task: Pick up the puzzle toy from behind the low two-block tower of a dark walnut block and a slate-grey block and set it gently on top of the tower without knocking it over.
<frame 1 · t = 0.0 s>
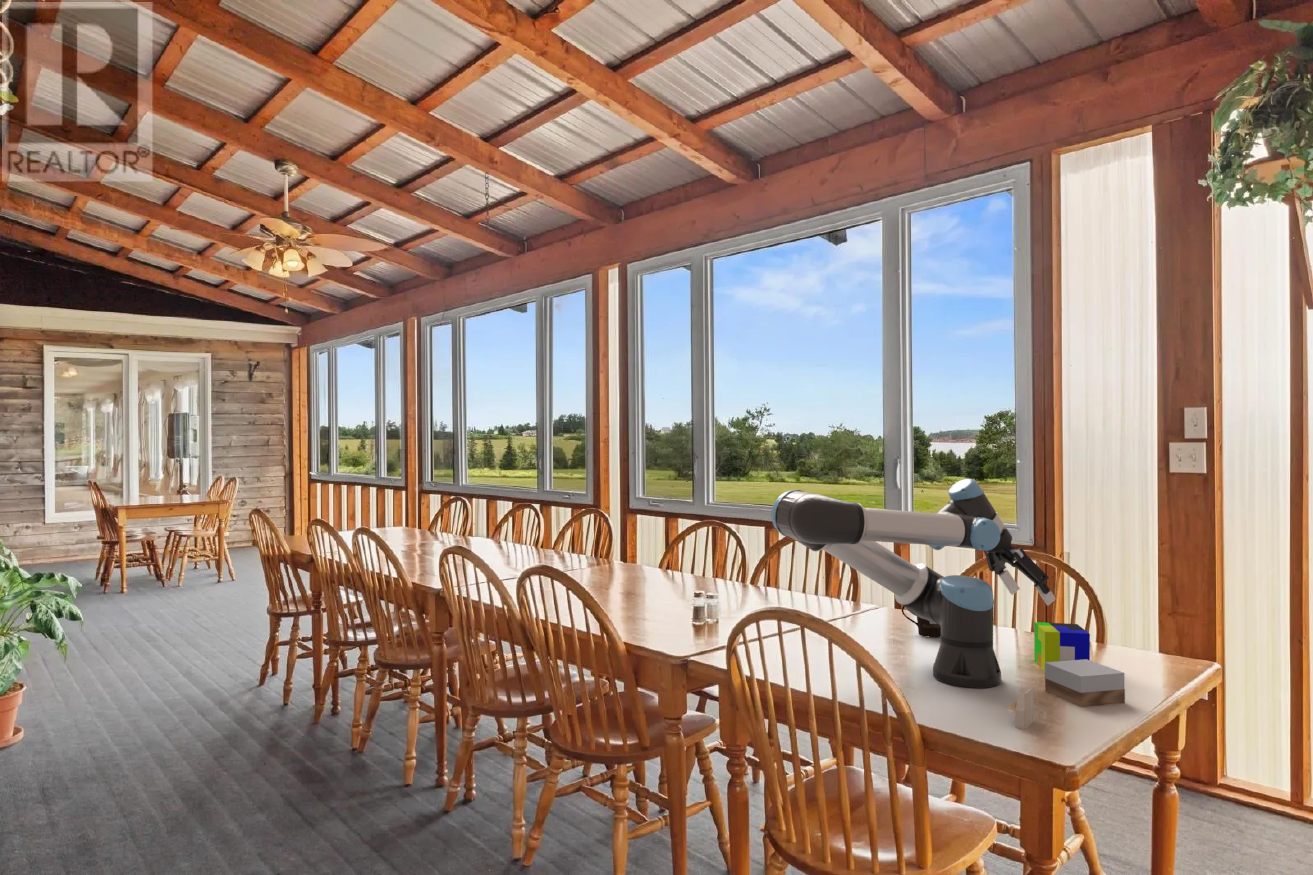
hand: (1032, 596, 212), 15 cm above the table, tool tilted 35°, fingers open, 13 cm apart
walnut block: (1084, 699, 179), on the table, touching slate-grey block
architectural model: (1024, 727, 163), on the table
coffee mug: (925, 634, 235), on the table
slate-grey block: (1083, 683, 179), point 3 cm above the table, touching walnut block
puzzle toy: (1061, 668, 201), on the table
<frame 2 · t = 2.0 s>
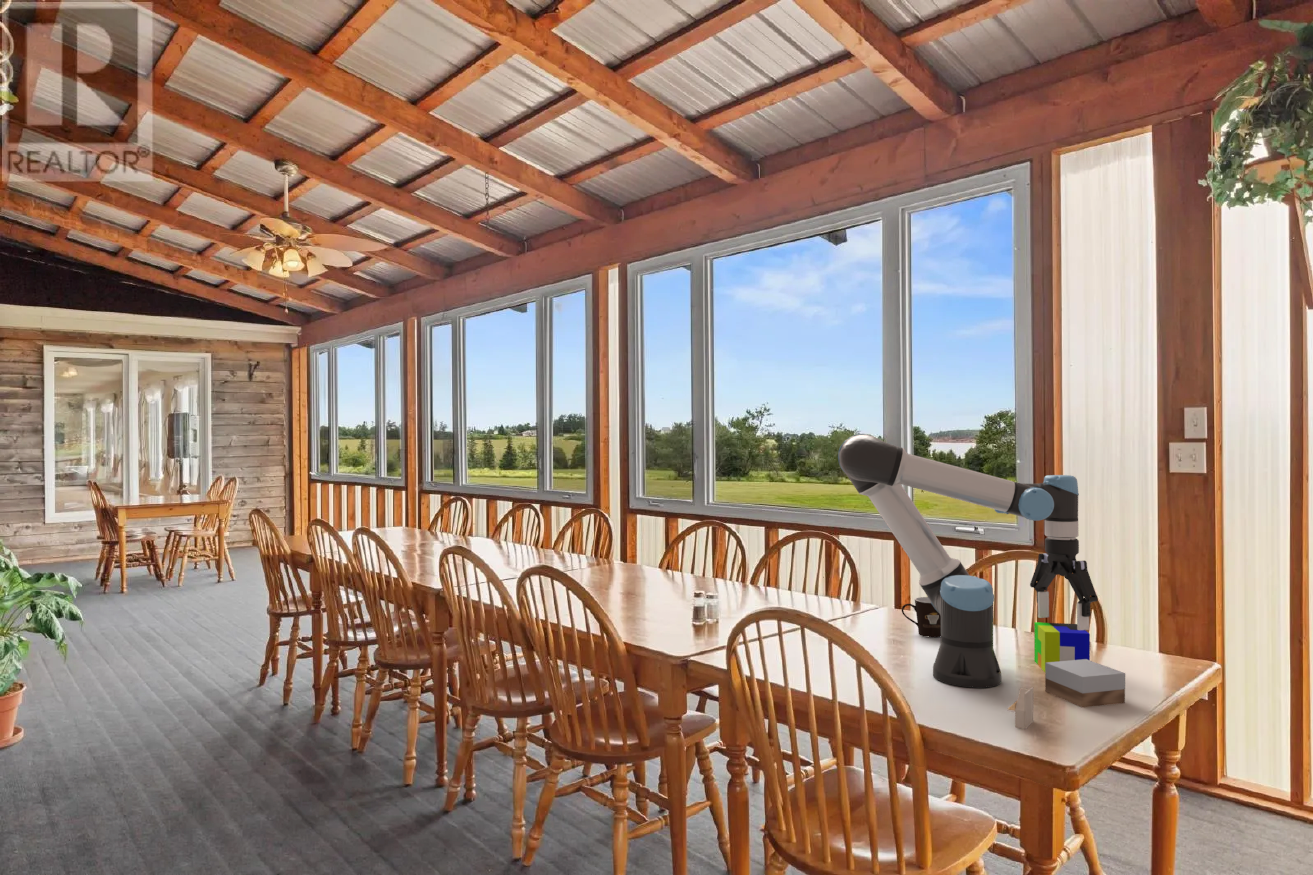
hand: (1062, 623, 201), 11 cm above the table, tool pointing down, fingers open, 13 cm apart
nothing on the table moved.
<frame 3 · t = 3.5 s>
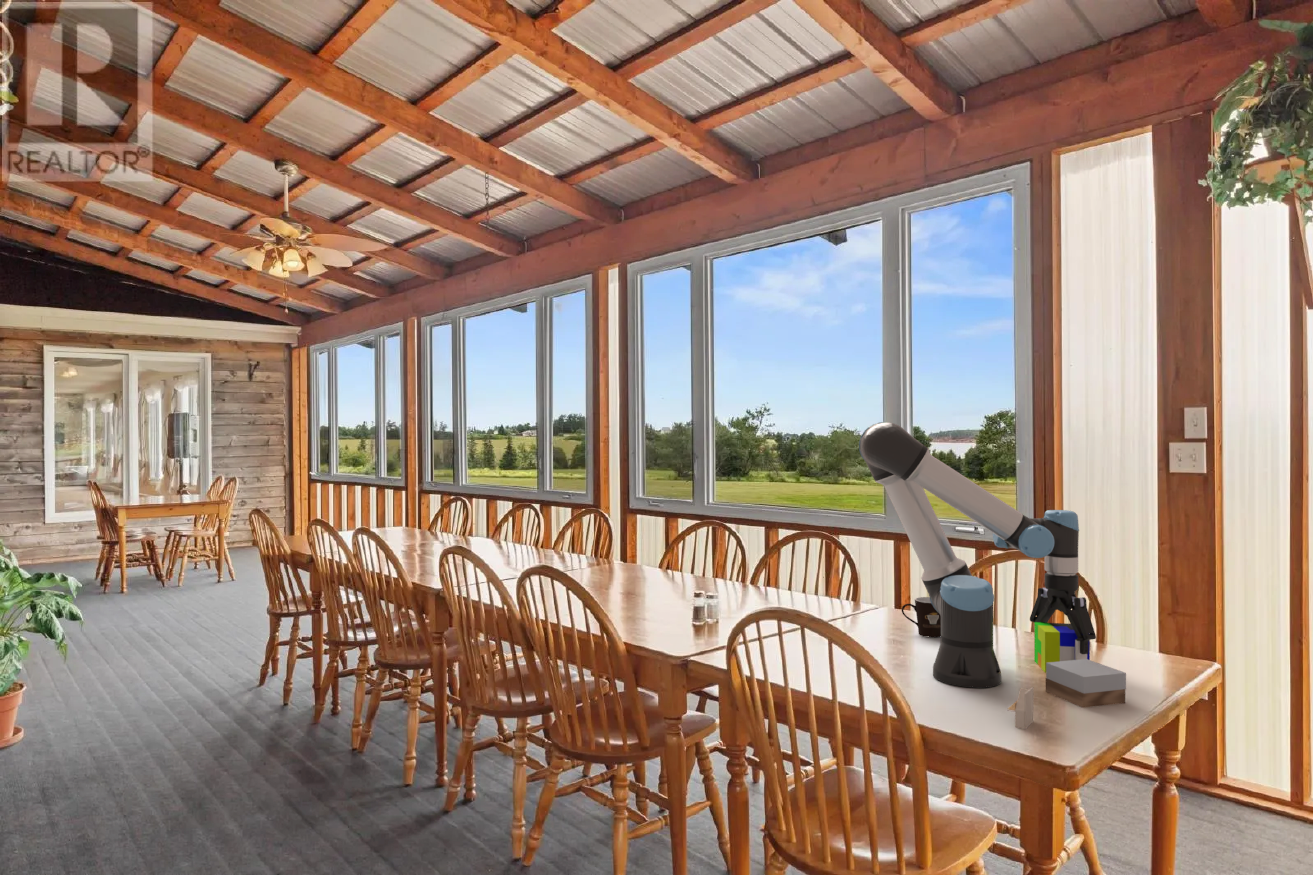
hand: (1061, 659, 201), 2 cm above the table, tool pointing down, fingers closed on puzzle toy, 12 cm apart
puzzle toy: (1061, 668, 201), on the table, touching gripper
everything else where it was.
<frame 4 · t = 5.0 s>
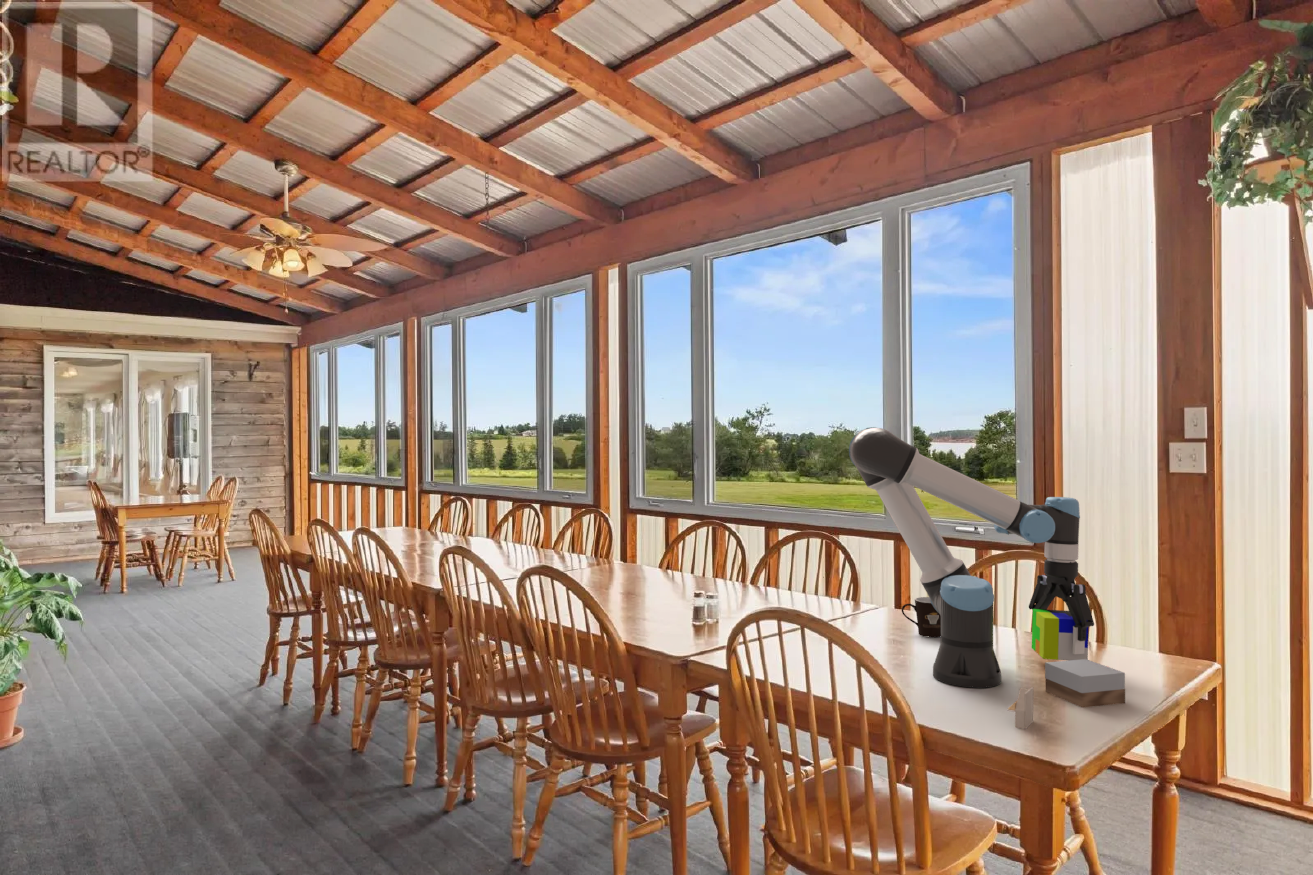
hand: (1059, 646, 201), 5 cm above the table, tool pointing down, fingers closed on puzzle toy, 12 cm apart
puzzle toy: (1058, 655, 201), point 3 cm above the table, touching gripper
everything else where it was.
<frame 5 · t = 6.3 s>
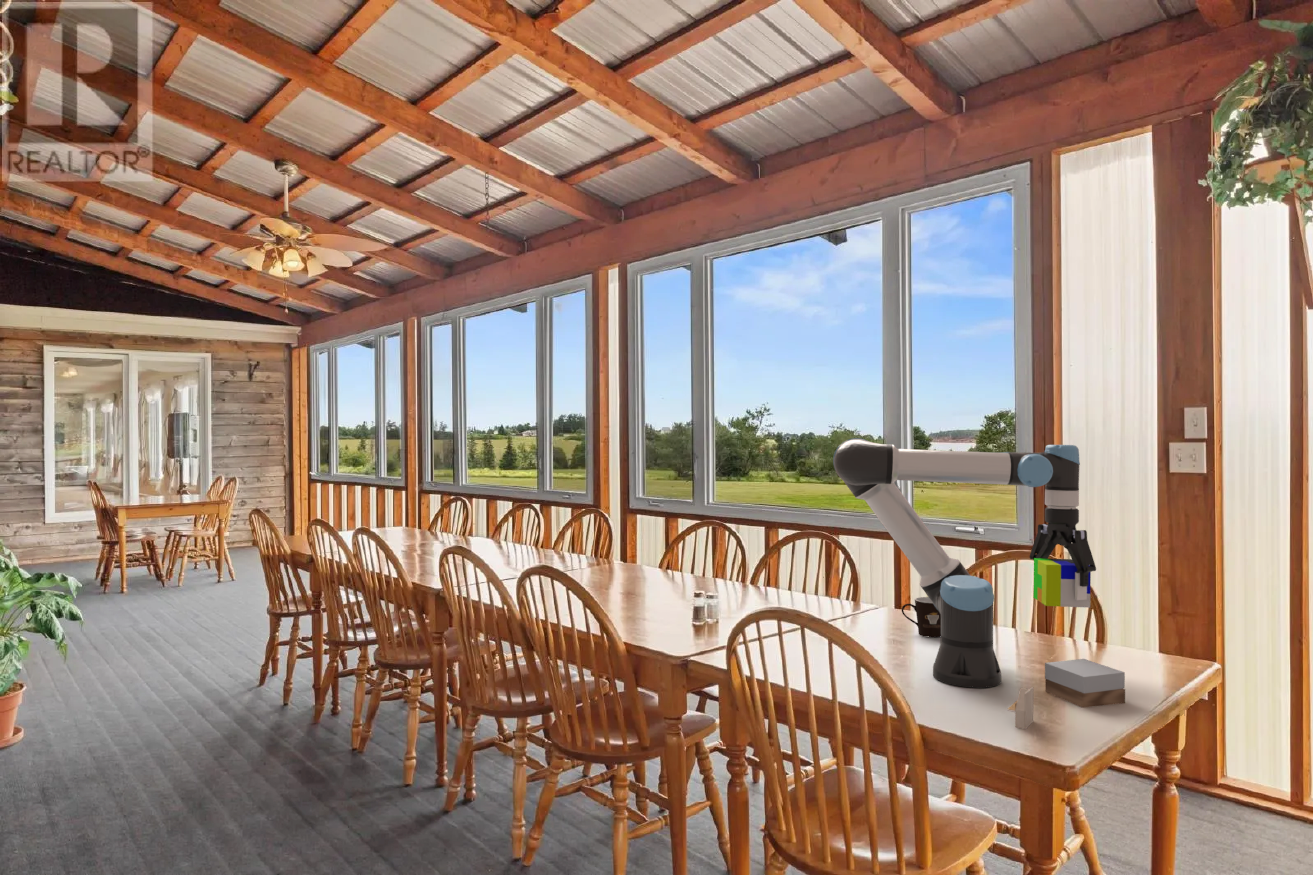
hand: (1061, 594, 200), 18 cm above the table, tool pointing down, fingers closed on puzzle toy, 12 cm apart
walnut block: (1084, 699, 179), on the table
slate-grey block: (1083, 683, 179), point 3 cm above the table
puzzle toy: (1061, 603, 201), point 16 cm above the table, touching gripper
everything else where it was.
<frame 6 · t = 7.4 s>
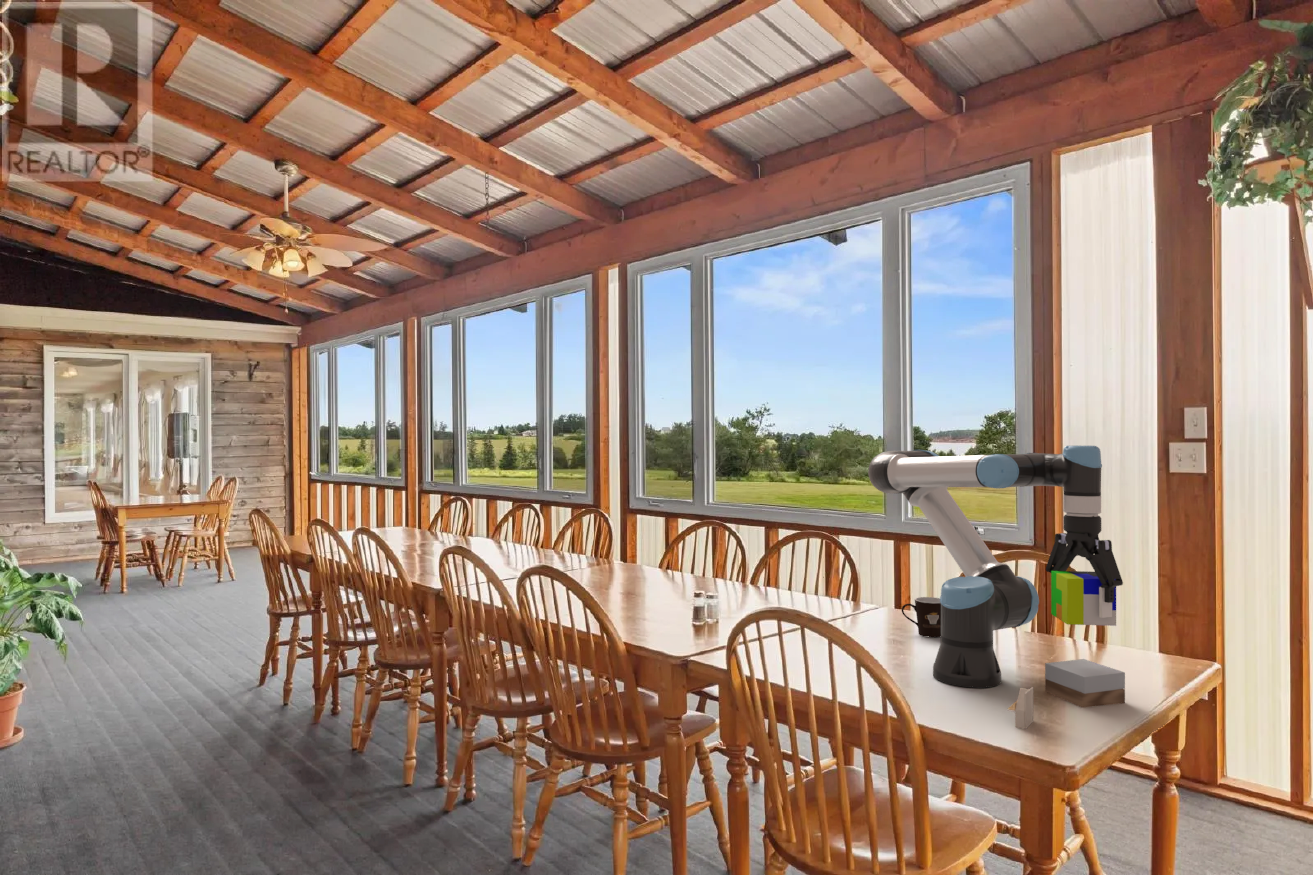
hand: (1082, 610, 181), 18 cm above the table, tool pointing down, fingers closed on puzzle toy, 12 cm apart
walnut block: (1084, 699, 179), on the table, touching slate-grey block
slate-grey block: (1084, 683, 179), point 3 cm above the table, touching walnut block
puzzle toy: (1082, 620, 181), point 16 cm above the table, touching gripper
everything else where it was.
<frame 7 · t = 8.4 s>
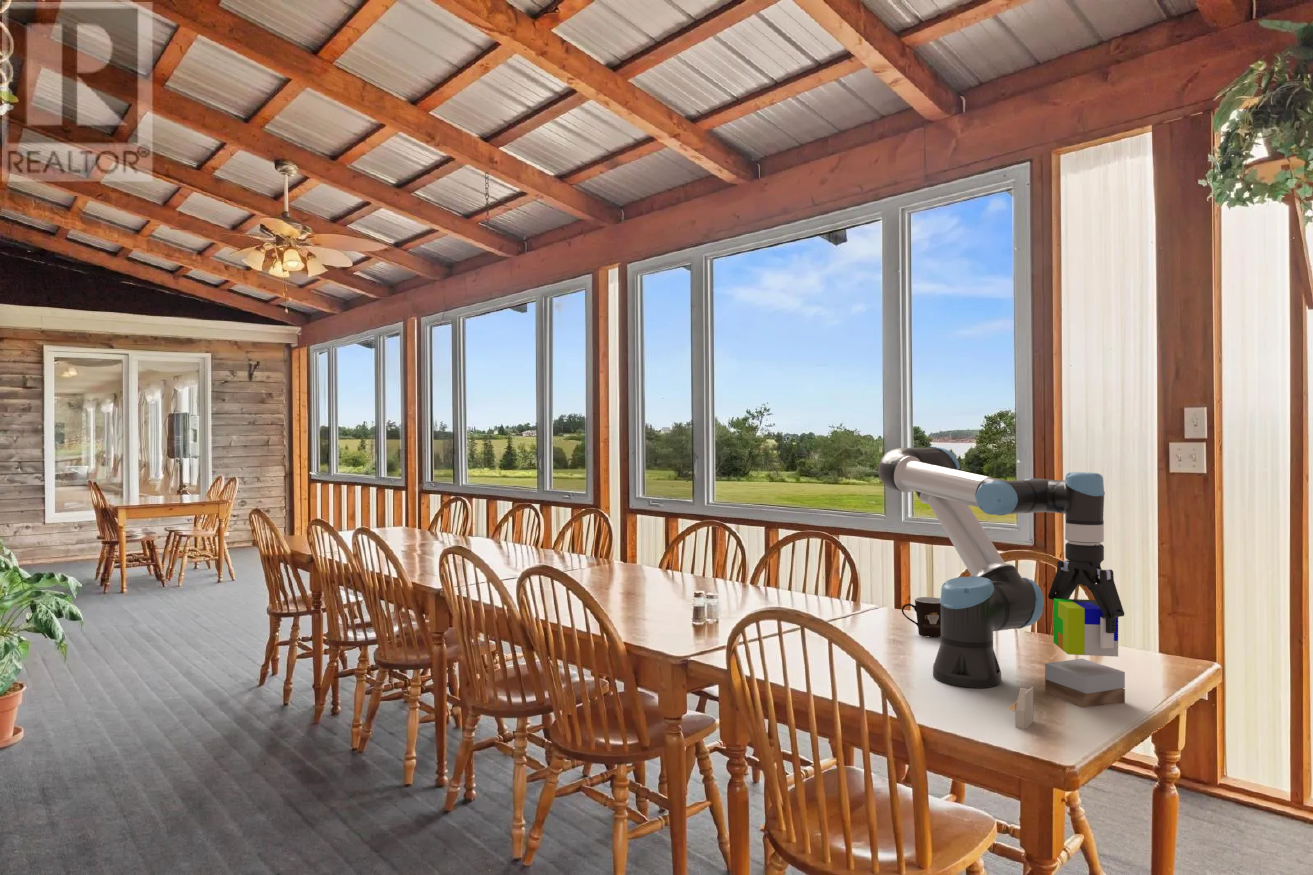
hand: (1084, 640, 179), 13 cm above the table, tool pointing down, fingers closed on puzzle toy, 12 cm apart
walnut block: (1084, 699, 179), on the table
slate-grey block: (1084, 683, 179), point 3 cm above the table
puzzle toy: (1084, 650, 179), point 10 cm above the table, touching gripper
everything else where it was.
when the fingers open (10 cm above the table, at t = 10.2 s): puzzle toy drops 2 cm, resting on slate-grey block.
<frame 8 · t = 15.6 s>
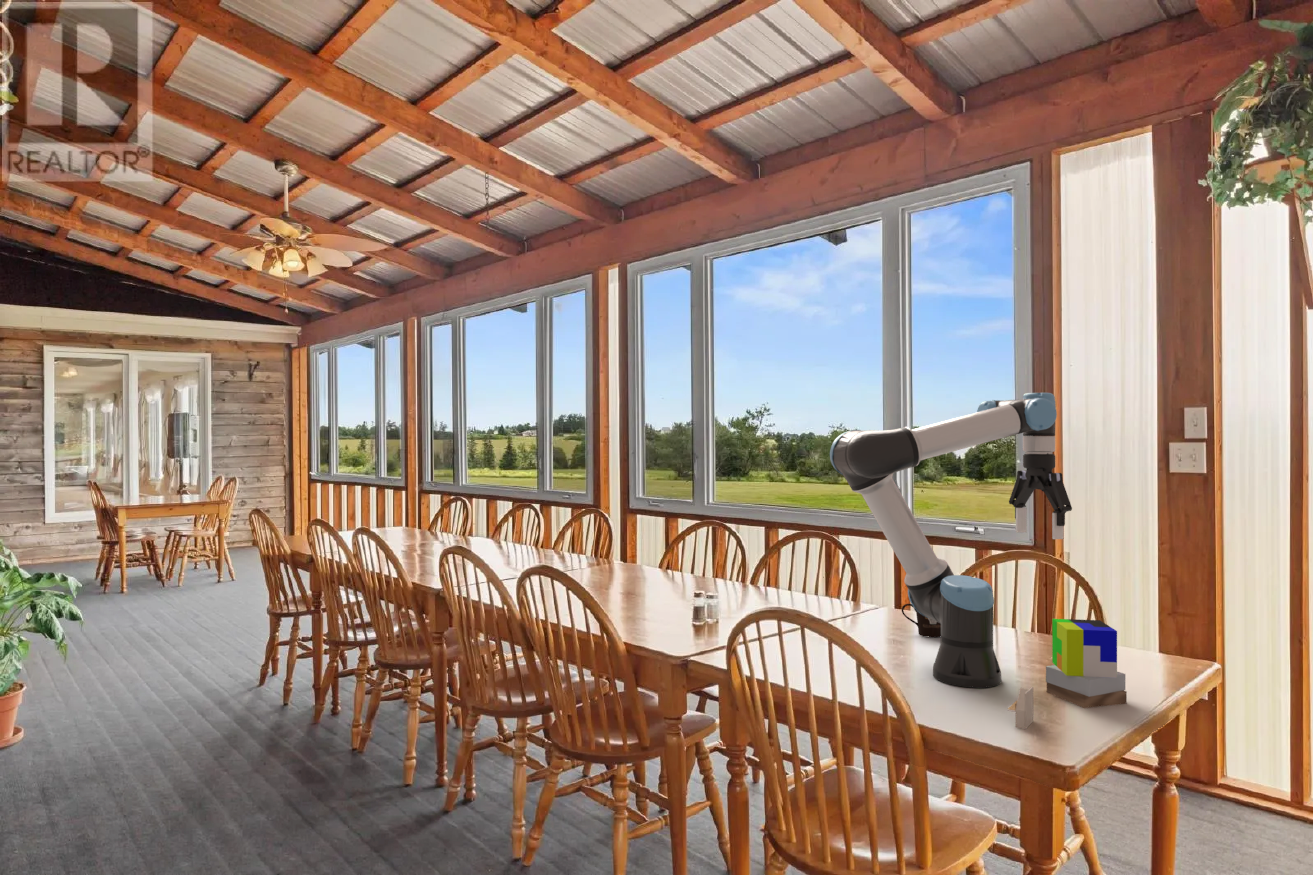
hand: (1038, 535, 209), 32 cm above the table, tool pointing down, fingers open, 13 cm apart
walnut block: (1085, 701, 179), on the table, touching slate-grey block
slate-grey block: (1085, 685, 179), point 3 cm above the table, touching puzzle toy, walnut block
puzzle toy: (1083, 671, 179), point 6 cm above the table, touching slate-grey block
everything else where it was.
at the end: puzzle toy 0.3 cm off-centre on the slate-grey block, point 3.3 cm above the slate-grey block's base; slate-grey block 0.2 cm off-centre on the walnut block, point 3.5 cm above the walnut block's base; slate-grey block tilted 0° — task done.
